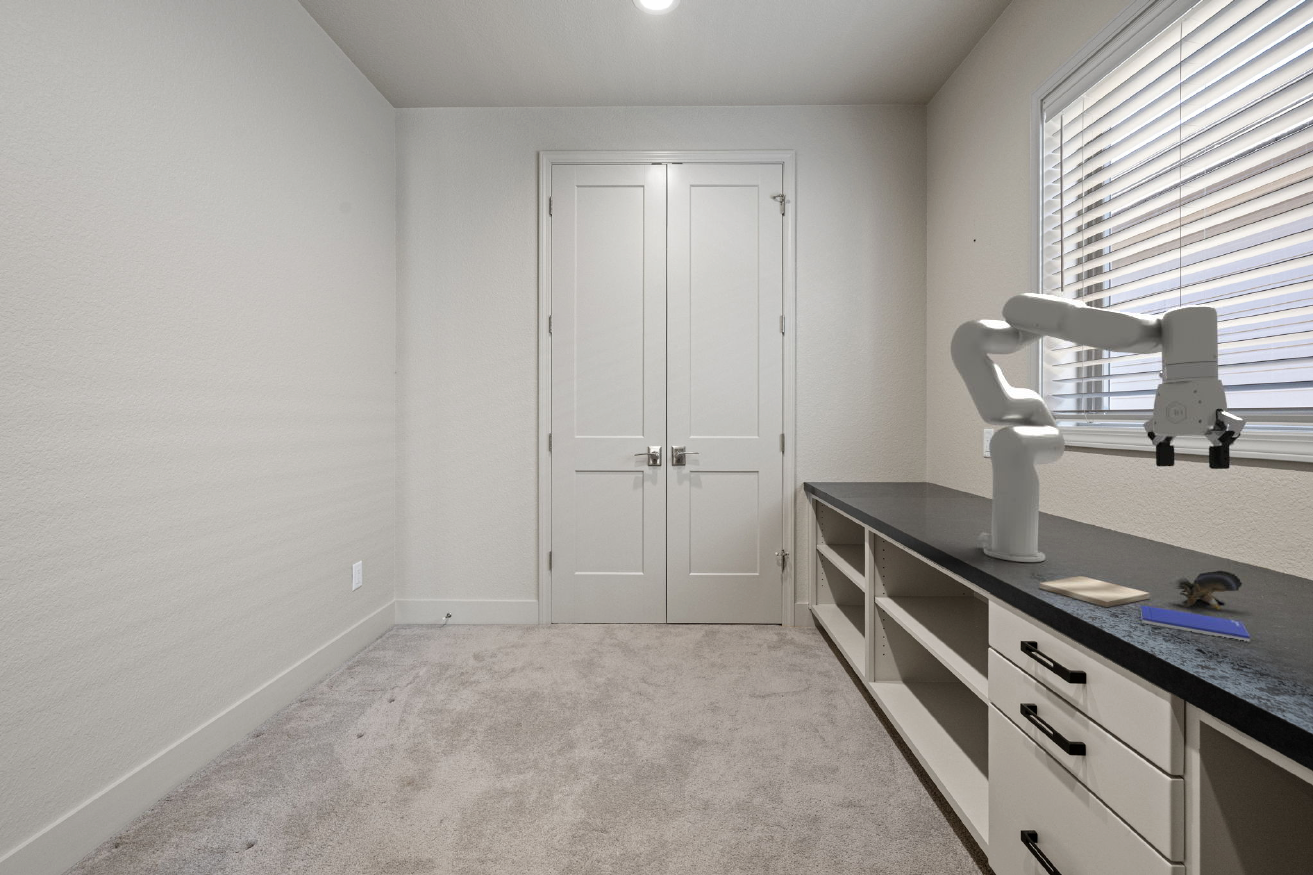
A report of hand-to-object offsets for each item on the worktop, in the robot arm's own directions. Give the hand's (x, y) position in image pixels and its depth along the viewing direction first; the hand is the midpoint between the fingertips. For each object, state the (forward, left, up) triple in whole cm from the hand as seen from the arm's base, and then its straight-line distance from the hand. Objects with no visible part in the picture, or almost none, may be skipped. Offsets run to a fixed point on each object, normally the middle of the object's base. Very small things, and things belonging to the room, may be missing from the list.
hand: (1191, 467), depth 104 cm
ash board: (-9, -12, -25) cm, 29 cm away
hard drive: (+7, -14, -26) cm, 30 cm away
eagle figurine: (+3, 0, -25) cm, 25 cm away
